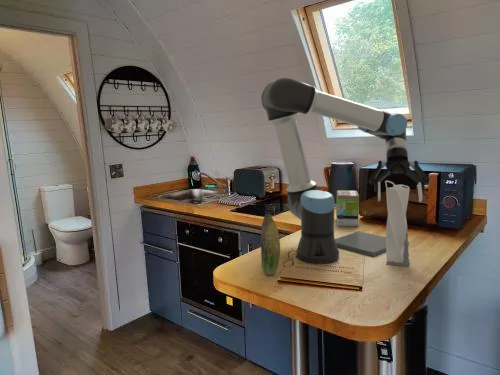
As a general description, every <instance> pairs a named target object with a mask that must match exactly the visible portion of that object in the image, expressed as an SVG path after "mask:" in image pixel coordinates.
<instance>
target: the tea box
mask: <svg viewBox="0 0 500 375" xmlns="http://www.w3.org/2000/svg"><path fill="white" fill-rule="evenodd" d="M335 206H336V210H335V211H336V213H335V214H336V216H335V218H336V226H340V227H358V226H359V211H360V209H359V207H360V195H359V193H358V190H337V191H336V203H335Z"/></svg>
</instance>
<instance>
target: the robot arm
mask: <svg viewBox="0 0 500 375" xmlns="http://www.w3.org/2000/svg"><path fill="white" fill-rule="evenodd" d="M260 99H261V100H260V101H261V105H262V107H263V108H264V110H265V112H266V116H267V118H268V122H269V123H271V124H272V125H273V126H274V130H275V134H276V138H277V142H278V146H279V150H280V152H281V157H282V161H283V166H284V170H285V174H286V177H287V181H288V187H287V188H286V193H287V197H288V198H287V206H288V209H289V211H290V213H291V214H292V215H293V216H294V217H296V218H298V219H299V220H300V228H301V229H300V230H301V231H300V233H301V234H300V235H301V236H300V239H299V242H298V245H297V248H296V258H297V259H298V260H300V261H301V262H305V263H309V264H329V263H335V262H336V261H338V260H339V258H340V251H339V247H337V244H336V241H335V239H336V238H335V206H336V203H335V198H334V197H335V196H334V195H333V194H332V193H331V192H328V191H325V190H320V189H319V190H318V185H317V182H316V181H314V180H313V179H312V178H311V174H310V170H309V166H308V162H307V161H308V160H307V156H306V154H305V150H304V145H303V142H302V137H301V136H302V135H301V133H300V128H299V125H298V120H297V118H298V116H299V115H300V114H303V115H308V114H309V113H311V114H315V115H318V116H322V117H325V118H328V119H332V120H335V121H339V122H342V123H346V124H349V125H352V126H355V127H357V128H358V130H360V131H362V132H363V133H366V134H369V135H372V136H374V137H376V138H379V139H381V140H384V141H385V151H386V153H385V154H386V156H385V157H386V162H383V161H382V160H379V161H378V164H377V166H376V168H375V170H373V172H372V174H371V176H370V177H369V179H368V180H369V181H368V183H369V185H374V188H373V189H374V193H377V202H381V198H382V196H381V194H382V193H381V183H382V182H383V181H384V180H385V179H386V178H387V177H388V176H390V175H391V174H393V175H396V174H398V175H402V174H403V175H405V176H408V177H409V178H410V179H411V180H413V181H414V183H417V192H418V194H417V195H418V202H419V203H422V201H423V194H424V193H425V191H426V187H425V186H429V184H430V178H429V177H428V175H427V174H426V173H425V171H424V170H423V168H421V167H420V165H419V161H417V160H414V161H413V162H410V161H409V153H408V145H407V144H408V142H407V127H408V120H407V117H406V116H405V115H404V114H401V113H397V112H395V113H394V112H393V113H391V112H388V111H384V110H381V109H378V108H376V107H371V106H369V105H365V104H362V103H360V102H359V103H358V102H355V101H352V100H348V99H346V98H343V97H339V96H336V95H333V94H329V93H327V92H323V91H319V90H317V88H316V87H315V85H311V84H308V83H305V82H302V81H300V80H296V79H294V78H290V77H281V78H278V79H276V80H274V81H272V82H269V83H267V85H266V86H265V87H264V88H263V91H262V92H261V96H260ZM385 167H386V169H385V170H384V171H382V169H384V168H385ZM411 168H412V169H413V170H414V171H413V170H412V169H411ZM381 171H382V173H380V172H381ZM379 173H380V175H379Z"/></svg>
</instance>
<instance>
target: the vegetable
mask: <svg viewBox="0 0 500 375" xmlns="http://www.w3.org/2000/svg"><path fill="white" fill-rule="evenodd" d="M280 241H281V240H280V235H279V231H278V227H277V223H276V222H275V220H274V218H273V216H272V215H271V214H268V213H266V214H265V215H264V216H263V221H262V223H261V228H260V249H261V250H260V254H261V255H260V256H261V270H262V272H263V273H264V274H265V275H267V276H272V275H273V274H275V273H276V271H277V269H278V267H279V263H280V257H281V242H280Z"/></svg>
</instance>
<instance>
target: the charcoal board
mask: <svg viewBox="0 0 500 375" xmlns="http://www.w3.org/2000/svg"><path fill="white" fill-rule="evenodd" d="M335 241H336V244H337V248H338V249H339V248H341V249H343V250H346V251H347V250H348V251H351V252H355V253H359V254H361V255H367V256H370V257H376V256H378V255H381V254H383V253H386V236H383V235H378V234H374V233H369V232H364V231H360V230H358V231H355V232H352V233H349V234H346V235H343V236H340V237H336V238H335Z"/></svg>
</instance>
